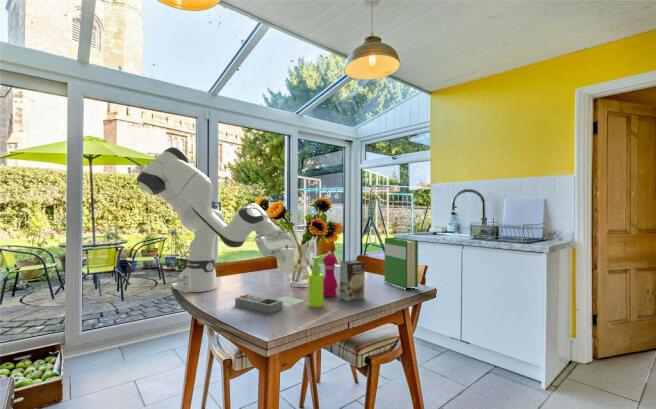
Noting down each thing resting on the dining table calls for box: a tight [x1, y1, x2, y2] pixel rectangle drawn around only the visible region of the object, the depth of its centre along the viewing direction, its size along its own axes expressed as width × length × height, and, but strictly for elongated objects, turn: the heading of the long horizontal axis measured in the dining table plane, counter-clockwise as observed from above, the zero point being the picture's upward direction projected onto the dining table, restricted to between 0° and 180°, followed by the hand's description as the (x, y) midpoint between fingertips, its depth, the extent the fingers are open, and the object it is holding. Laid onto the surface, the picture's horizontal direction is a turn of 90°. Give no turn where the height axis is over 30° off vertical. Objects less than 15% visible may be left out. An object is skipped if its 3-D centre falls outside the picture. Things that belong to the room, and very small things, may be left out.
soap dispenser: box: [307, 255, 325, 308], centre depth 128 cm, size 6×7×20 cm
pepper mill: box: [322, 250, 338, 298], centre depth 146 cm, size 7×7×20 cm
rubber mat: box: [275, 296, 306, 308], centre depth 132 cm, size 11×11×1 cm
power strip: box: [234, 293, 284, 315], centre depth 124 cm, size 18×7×5 cm, turn 58°
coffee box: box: [339, 260, 366, 302], centre depth 141 cm, size 9×6×16 cm
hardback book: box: [384, 236, 419, 289], centre depth 164 cm, size 18×7×24 cm, turn 24°
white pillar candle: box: [278, 245, 295, 275], centre depth 132 cm, size 4×4×12 cm
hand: (287, 259), depth 132 cm, fingers closed on white pillar candle, 5 cm apart
